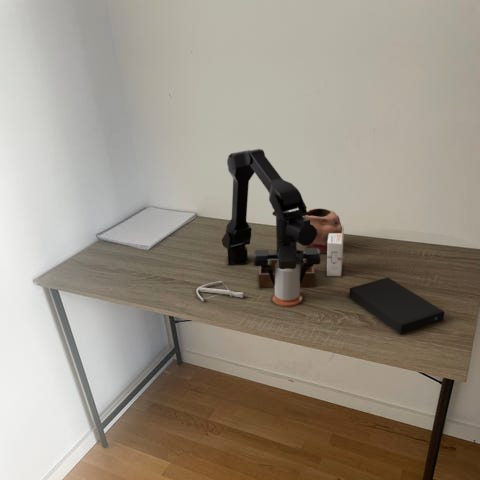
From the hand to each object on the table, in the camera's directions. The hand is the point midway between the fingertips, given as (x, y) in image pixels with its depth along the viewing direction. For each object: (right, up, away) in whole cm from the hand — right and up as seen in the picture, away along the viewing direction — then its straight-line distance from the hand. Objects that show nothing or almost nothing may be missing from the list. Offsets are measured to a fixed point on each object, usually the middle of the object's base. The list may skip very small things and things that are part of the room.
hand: (287, 283), depth 138 cm
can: (0, -4, +3) cm, 5 cm away
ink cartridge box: (+17, +5, +17) cm, 25 cm away
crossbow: (-20, -3, +8) cm, 22 cm away
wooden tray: (+1, +3, +14) cm, 14 cm away
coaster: (0, -5, +3) cm, 5 cm away
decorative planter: (+14, +15, +33) cm, 39 cm away
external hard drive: (+30, -8, -6) cm, 31 cm away
